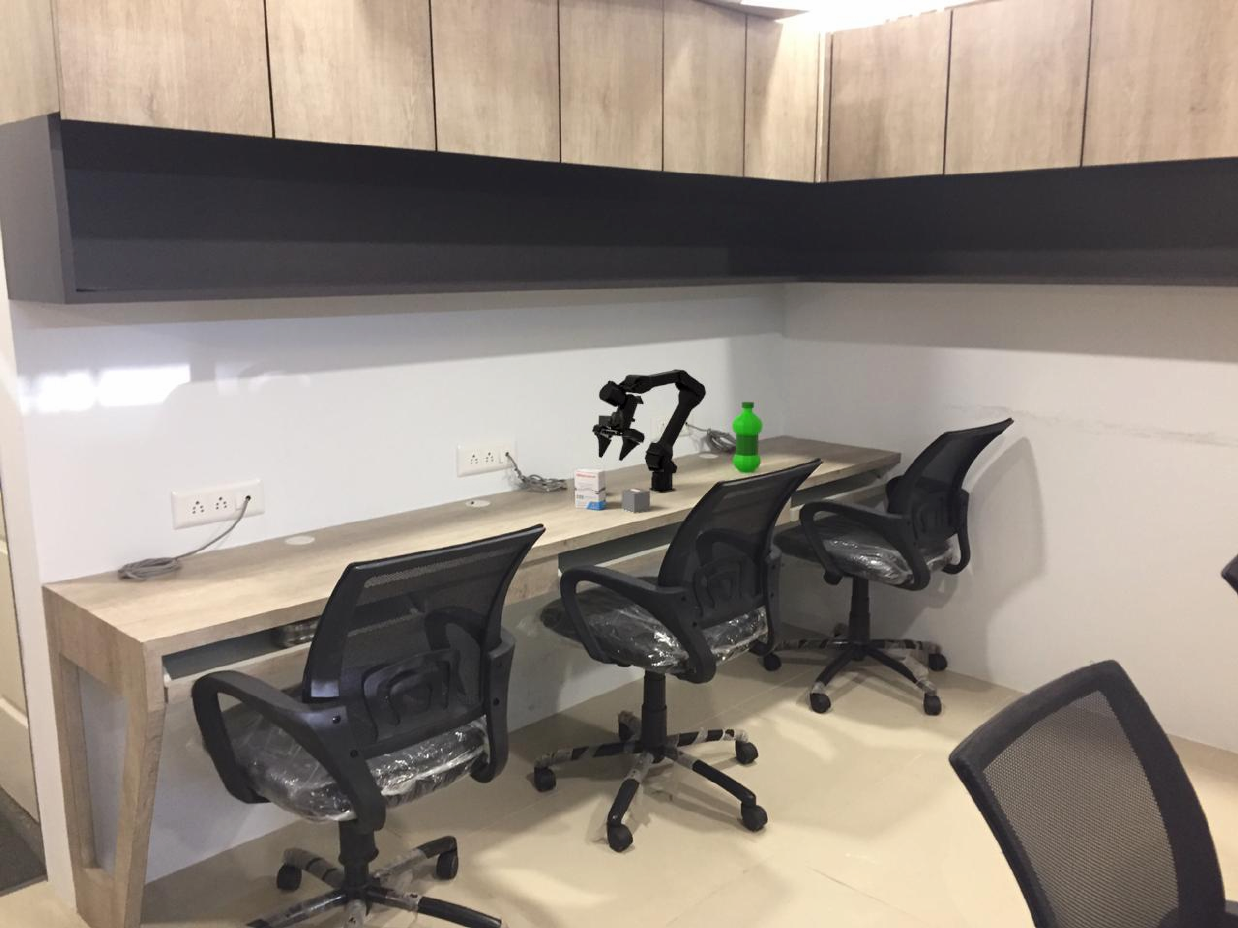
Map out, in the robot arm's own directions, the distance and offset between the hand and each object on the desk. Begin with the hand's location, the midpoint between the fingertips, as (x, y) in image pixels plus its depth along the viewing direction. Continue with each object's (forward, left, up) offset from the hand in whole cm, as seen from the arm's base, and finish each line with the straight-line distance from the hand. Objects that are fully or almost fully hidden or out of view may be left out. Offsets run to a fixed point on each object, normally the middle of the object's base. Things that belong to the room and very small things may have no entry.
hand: (609, 459), depth 308 cm
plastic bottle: (-67, -6, -14) cm, 68 cm away
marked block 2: (+1, +15, -14) cm, 20 cm away
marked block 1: (+2, -9, -14) cm, 17 cm away
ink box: (+10, +4, -14) cm, 17 cm away
